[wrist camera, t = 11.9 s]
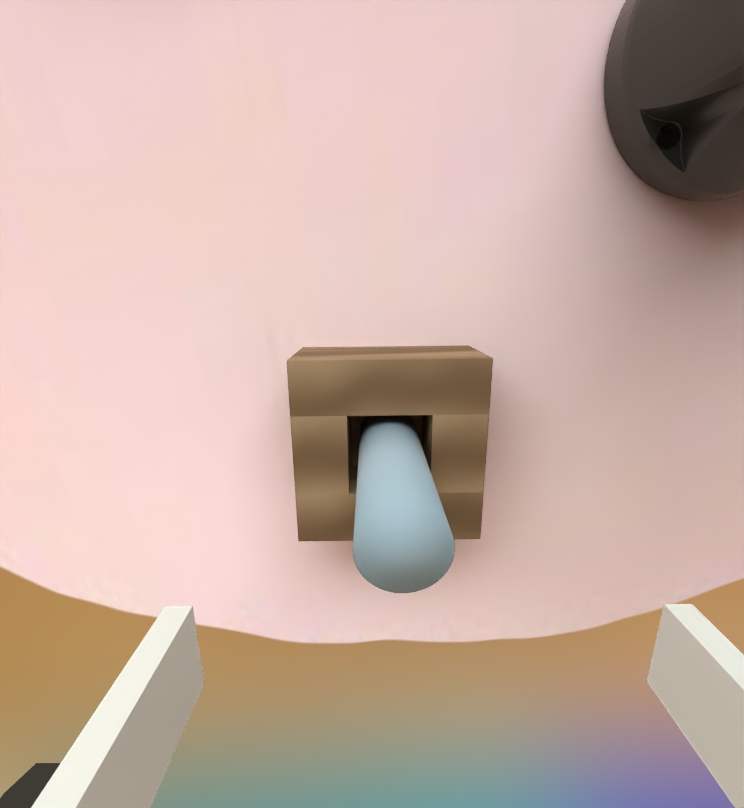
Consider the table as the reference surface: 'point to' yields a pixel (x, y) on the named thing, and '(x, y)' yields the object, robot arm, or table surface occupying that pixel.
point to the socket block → (381, 396)
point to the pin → (398, 510)
